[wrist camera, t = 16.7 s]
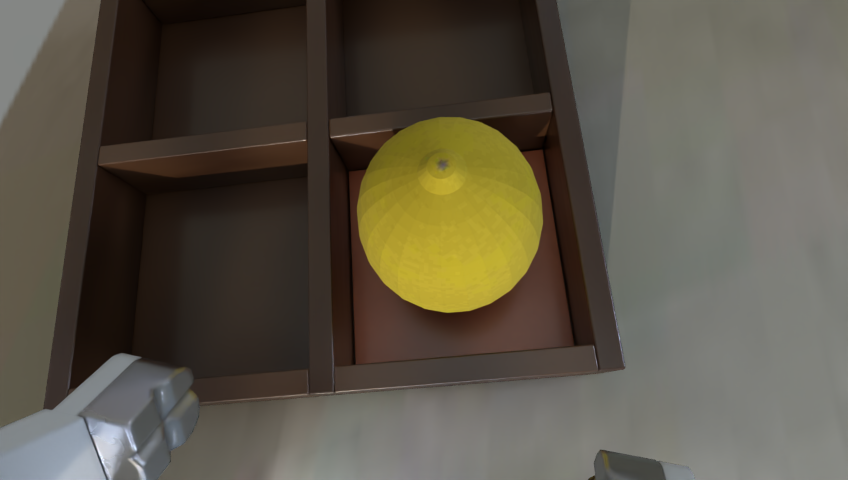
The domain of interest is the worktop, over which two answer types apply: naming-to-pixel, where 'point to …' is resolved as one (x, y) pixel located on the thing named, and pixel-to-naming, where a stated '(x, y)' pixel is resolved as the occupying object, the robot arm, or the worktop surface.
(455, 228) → the lemon
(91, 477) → the robot arm
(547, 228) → the grid
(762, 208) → the worktop surface
